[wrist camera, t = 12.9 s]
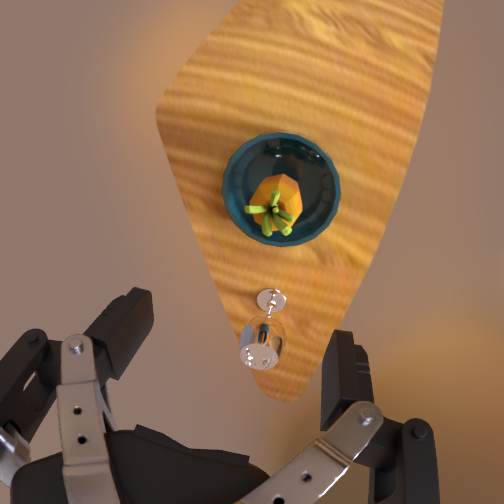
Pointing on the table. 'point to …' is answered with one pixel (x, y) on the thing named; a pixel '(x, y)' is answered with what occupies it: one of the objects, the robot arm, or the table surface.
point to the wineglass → (264, 333)
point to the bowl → (294, 166)
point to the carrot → (276, 204)
